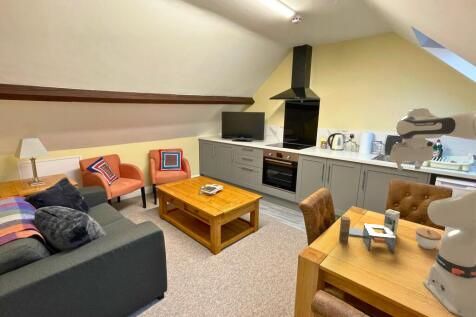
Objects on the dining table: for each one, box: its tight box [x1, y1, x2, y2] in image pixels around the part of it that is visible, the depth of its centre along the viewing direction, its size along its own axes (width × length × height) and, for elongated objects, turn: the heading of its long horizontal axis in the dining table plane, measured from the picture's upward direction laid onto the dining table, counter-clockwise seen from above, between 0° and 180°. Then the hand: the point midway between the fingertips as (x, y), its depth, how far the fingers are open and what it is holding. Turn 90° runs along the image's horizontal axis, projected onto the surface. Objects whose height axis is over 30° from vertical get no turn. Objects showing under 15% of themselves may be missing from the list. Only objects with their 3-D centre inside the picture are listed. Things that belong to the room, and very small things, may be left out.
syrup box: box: [381, 208, 401, 236], centre depth 137 cm, size 6×6×14 cm
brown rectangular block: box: [338, 215, 351, 245], centre depth 130 cm, size 4×4×14 cm
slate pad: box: [349, 227, 363, 238], centre depth 140 cm, size 8×8×1 cm
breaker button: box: [372, 237, 386, 245], centre depth 127 cm, size 5×5×2 cm
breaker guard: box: [361, 223, 397, 255], centre depth 127 cm, size 12×12×9 cm
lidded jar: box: [414, 227, 442, 250], centre depth 126 cm, size 11×11×9 cm
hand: (408, 169), depth 119 cm, fingers open, 8 cm apart
